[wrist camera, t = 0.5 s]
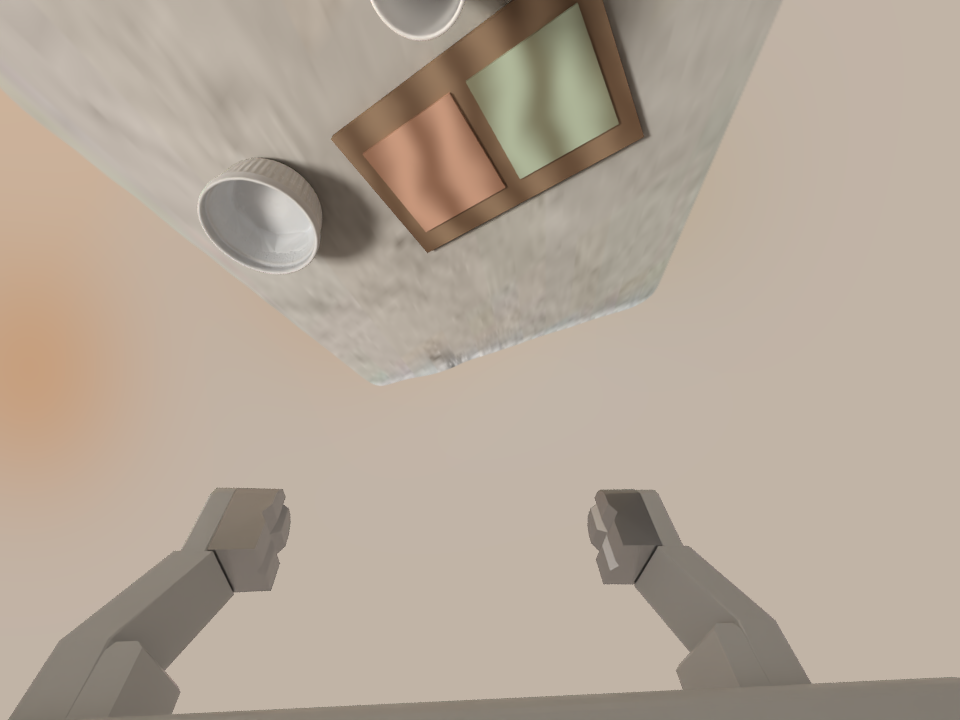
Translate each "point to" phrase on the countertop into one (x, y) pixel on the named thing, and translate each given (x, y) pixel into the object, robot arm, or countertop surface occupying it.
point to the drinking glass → (419, 16)
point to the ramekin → (262, 216)
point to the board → (496, 118)
